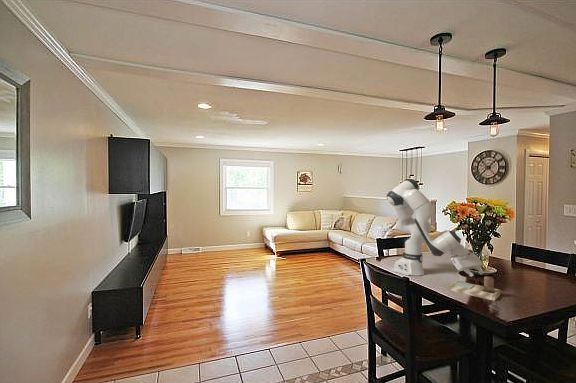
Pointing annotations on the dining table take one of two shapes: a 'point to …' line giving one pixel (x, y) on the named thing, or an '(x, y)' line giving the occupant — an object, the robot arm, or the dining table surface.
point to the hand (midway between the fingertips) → (477, 274)
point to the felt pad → (464, 285)
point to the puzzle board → (476, 291)
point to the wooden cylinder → (489, 284)
